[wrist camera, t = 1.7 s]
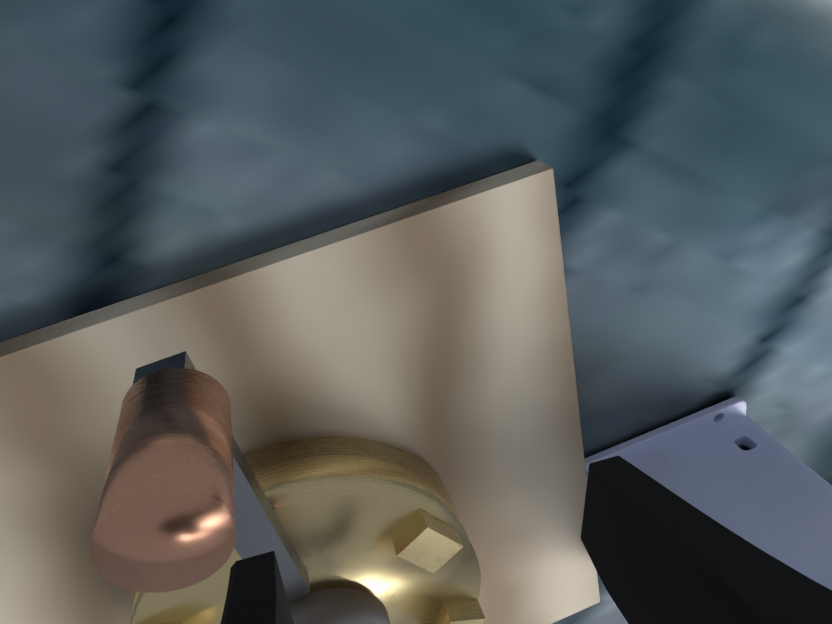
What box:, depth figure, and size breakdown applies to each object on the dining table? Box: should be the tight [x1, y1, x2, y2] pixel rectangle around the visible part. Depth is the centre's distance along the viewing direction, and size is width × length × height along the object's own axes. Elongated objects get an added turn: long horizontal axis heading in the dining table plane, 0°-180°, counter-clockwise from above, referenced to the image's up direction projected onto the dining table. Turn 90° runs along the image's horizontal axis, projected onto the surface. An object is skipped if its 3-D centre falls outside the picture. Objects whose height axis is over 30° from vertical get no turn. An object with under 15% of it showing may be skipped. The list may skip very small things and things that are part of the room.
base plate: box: [0, 160, 600, 624], centre depth 21 cm, size 24×24×6 cm
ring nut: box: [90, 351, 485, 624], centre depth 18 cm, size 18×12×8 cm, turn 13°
